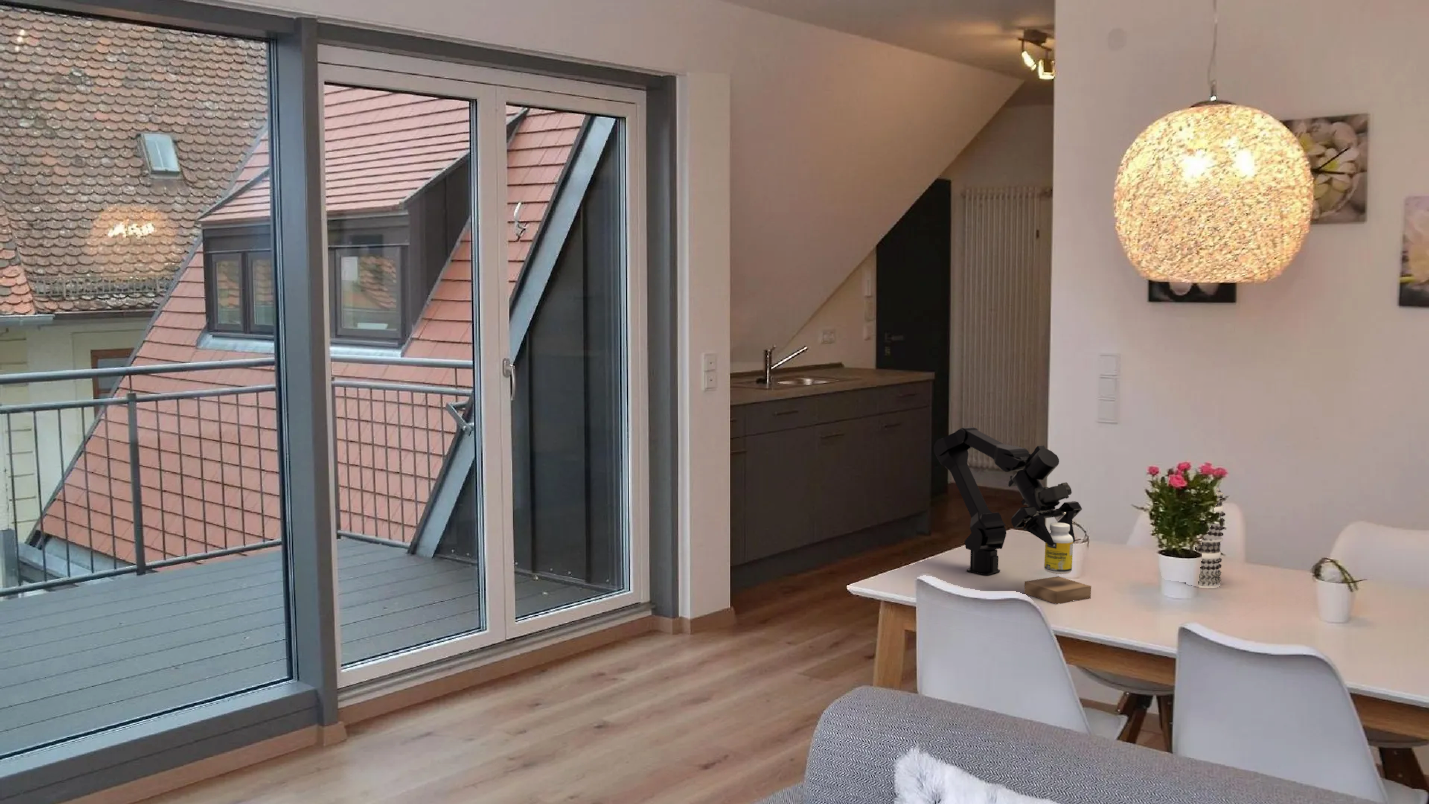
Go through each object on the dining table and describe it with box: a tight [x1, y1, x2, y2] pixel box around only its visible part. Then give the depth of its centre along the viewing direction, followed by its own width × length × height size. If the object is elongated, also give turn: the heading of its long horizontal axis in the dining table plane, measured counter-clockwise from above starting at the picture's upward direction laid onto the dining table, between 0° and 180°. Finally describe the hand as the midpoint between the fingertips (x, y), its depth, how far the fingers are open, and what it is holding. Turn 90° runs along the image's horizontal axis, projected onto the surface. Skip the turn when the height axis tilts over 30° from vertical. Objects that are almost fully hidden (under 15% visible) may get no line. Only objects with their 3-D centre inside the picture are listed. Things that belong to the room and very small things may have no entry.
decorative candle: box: [1195, 486, 1226, 589], centre depth 303 cm, size 9×9×25 cm
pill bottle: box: [1043, 522, 1074, 575], centre depth 291 cm, size 6×6×12 cm
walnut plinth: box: [1023, 576, 1092, 605], centre depth 292 cm, size 11×11×3 cm
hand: (1063, 543), depth 290 cm, fingers closed on pill bottle, 6 cm apart
